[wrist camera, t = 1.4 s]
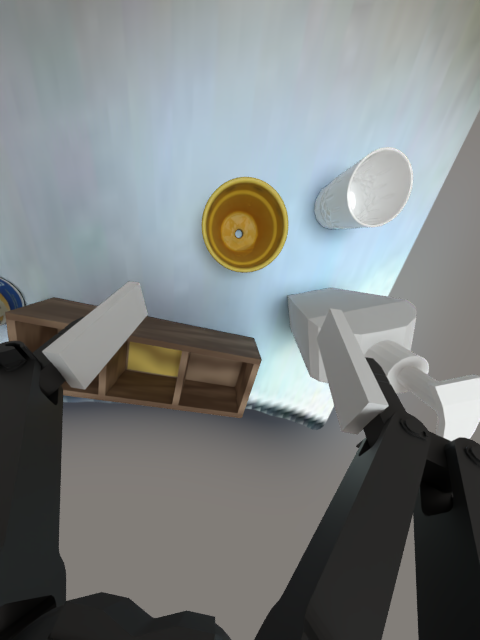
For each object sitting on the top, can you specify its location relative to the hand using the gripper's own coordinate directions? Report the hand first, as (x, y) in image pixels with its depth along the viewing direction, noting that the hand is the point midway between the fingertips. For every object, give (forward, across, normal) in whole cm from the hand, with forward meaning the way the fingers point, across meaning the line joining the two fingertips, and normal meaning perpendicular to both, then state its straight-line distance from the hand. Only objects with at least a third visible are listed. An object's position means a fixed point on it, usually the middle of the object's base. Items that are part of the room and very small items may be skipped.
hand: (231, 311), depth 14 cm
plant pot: (+23, -2, -1) cm, 23 cm away
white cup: (+27, +12, +4) cm, 30 cm away
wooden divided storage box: (+13, -15, -21) cm, 29 cm away
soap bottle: (+21, +13, -13) cm, 28 cm away
